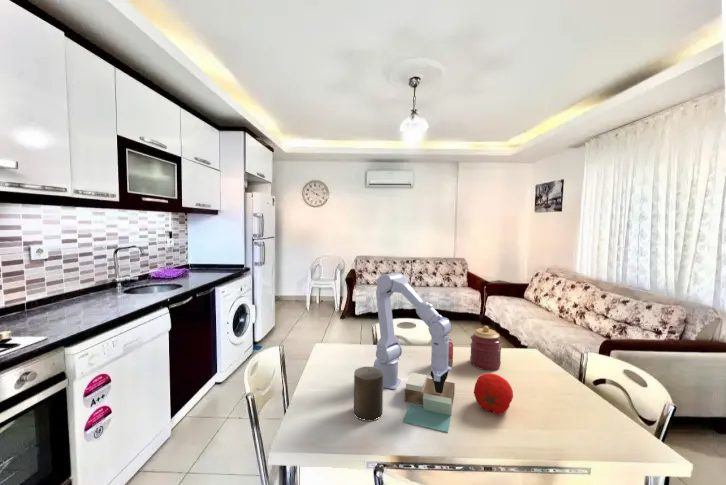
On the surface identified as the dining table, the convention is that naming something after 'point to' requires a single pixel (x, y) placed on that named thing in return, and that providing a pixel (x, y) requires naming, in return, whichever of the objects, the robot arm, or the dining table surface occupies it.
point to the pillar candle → (368, 393)
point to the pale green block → (437, 404)
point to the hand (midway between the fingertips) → (439, 392)
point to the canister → (485, 349)
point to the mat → (426, 418)
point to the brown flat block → (430, 392)
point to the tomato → (493, 393)
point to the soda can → (450, 353)
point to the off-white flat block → (416, 382)
